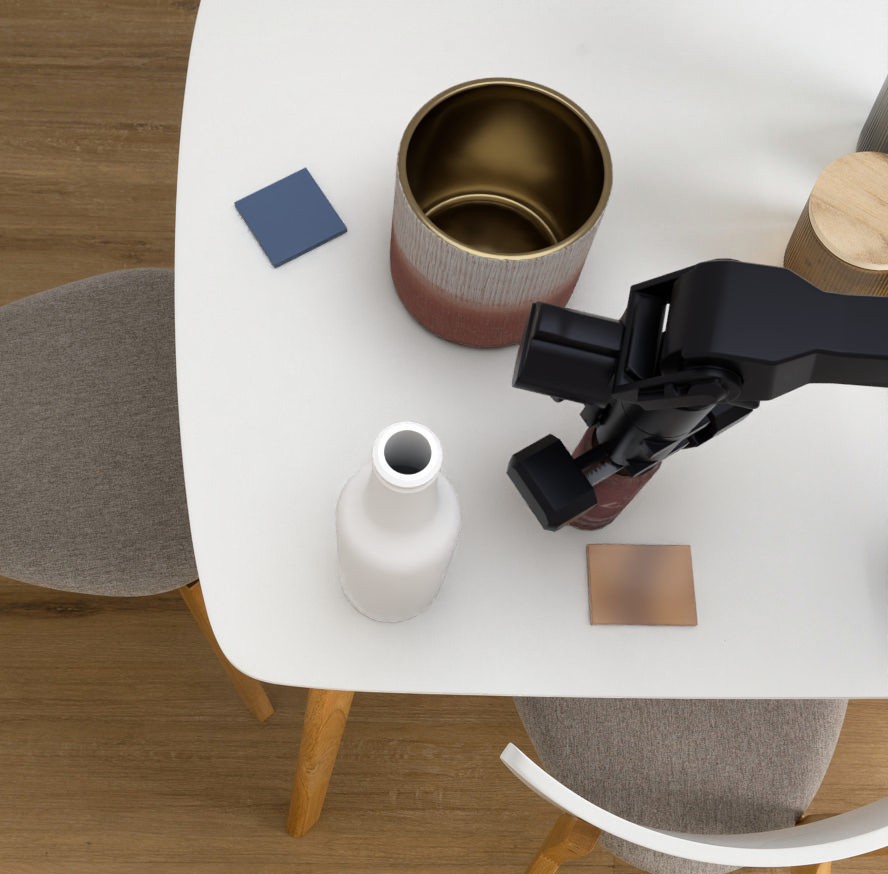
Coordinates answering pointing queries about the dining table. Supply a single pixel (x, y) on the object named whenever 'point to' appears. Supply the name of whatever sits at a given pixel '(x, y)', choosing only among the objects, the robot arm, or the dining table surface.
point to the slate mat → (290, 217)
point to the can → (609, 488)
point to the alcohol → (397, 525)
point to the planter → (495, 207)
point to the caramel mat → (641, 585)
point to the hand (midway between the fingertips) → (602, 472)
